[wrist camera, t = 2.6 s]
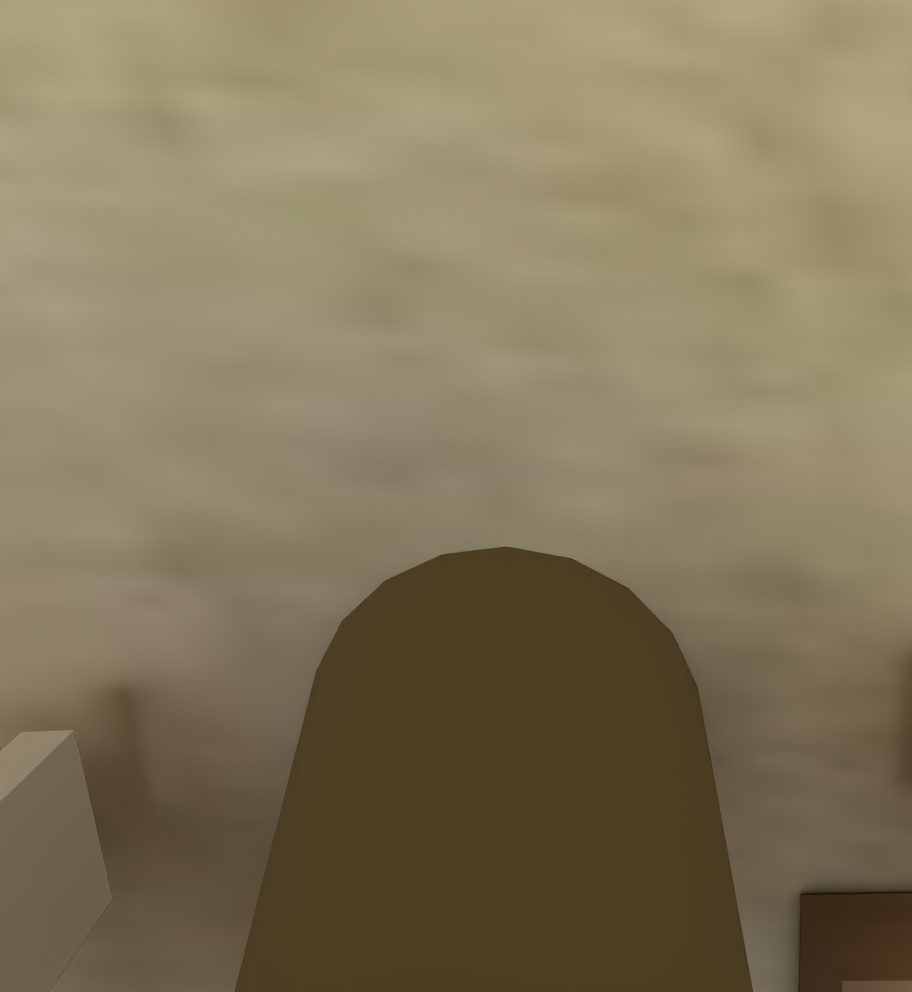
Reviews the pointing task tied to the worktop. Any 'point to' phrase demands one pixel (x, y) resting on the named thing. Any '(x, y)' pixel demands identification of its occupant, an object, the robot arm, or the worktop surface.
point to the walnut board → (856, 943)
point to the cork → (499, 798)
